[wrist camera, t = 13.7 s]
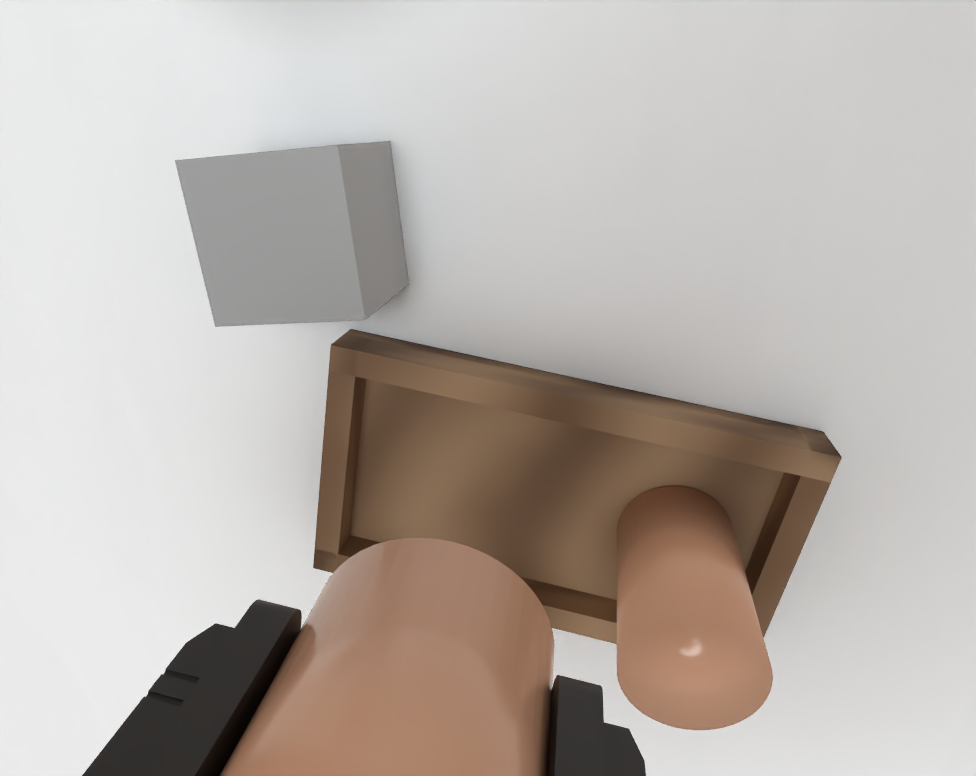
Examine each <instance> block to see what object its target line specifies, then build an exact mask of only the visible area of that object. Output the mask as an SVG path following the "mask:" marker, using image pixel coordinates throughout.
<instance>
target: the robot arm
mask: <svg viewBox="0 0 976 776" xmlns="http://www.w3.org/2000/svg"><path fill="white" fill-rule="evenodd" d="M301 617H302V616H301V611H300V610H299V609H295V608H291V607H287V606H283V605H279V604H275V603H271V602H266V601H262V600H256V601H255V602H254V603H253V604H252V605H251V606H250V607H249V609H248V610H247V612H246V613H245V615H244V616H243V617H242V619H241V620H240V622H239V623H238V624H237V626H236V627H235V628H232V627H228V626H224V625H220V624H214V625H213V626H211V627H210V628H208V629H207V630H205V631H204V632H202V633H200V634H199V635H197V636H196V637H194V638H193V639H191V640H190V641H188V642H187V643H186V644H185V645H184V646H183V648H182V649H181V650H180V651H179V653H178V654H177V655H176V657H175V658H174V659H173V660H172V662H171V663H170V664H169V666H168V667H167V668H166V671H165V673H164V675H162V674H161V676H160V677H159V678H158V680H157V681H156V682H155V683H154V685H153V686H152V687H151V689H150V690H149V692H148V695H147V696H146V697H143V699H142V700H141V701H140V703H139V704H138V705H137V706H136V708H135V709H134V710H133V712H132V713H131V714H130V715H129V717H128V718H127V719H126V720H125V722H124V723H123V724H122V726H121V727H120V728H119V729H118V731H117V732H116V733H115V735H114V736H113V737H112V738H111V740H110V741H109V742H108V743H107V745H106V746H105V747H104V749H103V750H102V751H101V752H100V754H99V755H98V756H97V757H96V759H95V760H94V761H93V763H92V764H91V765H90V766H89V768H88V769H87V770H86V772H85V773H84V774H83V775H82V776H220V774H221V772H222V770H223V769H224V767H225V765H226V763H227V761H228V760H229V758H230V756H231V754H232V752H233V751H234V749H235V747H236V745H237V743H238V742H239V740H240V738H241V736H242V734H243V733H244V731H245V729H246V727H247V725H248V724H249V722H250V720H251V718H252V716H253V715H254V713H255V711H256V709H257V707H258V706H259V704H260V702H261V700H262V698H263V696H264V695H265V693H266V691H267V689H268V687H269V686H270V684H271V682H272V680H273V678H274V677H275V675H276V673H277V671H278V669H279V668H280V666H281V664H282V662H283V660H284V659H285V657H286V655H287V653H288V651H289V650H290V648H291V646H292V644H293V642H294V641H295V639H296V637H297V635H298V633H299V632H300V629H301ZM547 776H646V773H645V762H644V759H643V757H642V755H641V753H640V751H639V749H638V747H637V745H636V743H635V741H634V739H633V736H632V734H631V732H630V730H629V729H628V728H624V727H620V726H616V725H612V724H608V723H604V719H603V692H602V687H601V686H600V685H596V684H592V683H588V682H584V681H580V680H576V679H572V678H568V677H564V676H560V675H557V676H556V678H555V681H554V684H553V687H552V694H551V711H550V728H549V745H548V762H547Z"/></svg>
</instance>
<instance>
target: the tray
mask: <svg viewBox="0 0 976 776" xmlns="http://www.w3.org/2000/svg"><path fill="white" fill-rule="evenodd" d="M841 458H842V457H841V456H840V454H839V453H838V451H837V450H836V449H835V447H834V446H833V444H832V443H831V442H830V440H829V439H828V438H827V436H826V435H825V433H824V432H822V431H817V430H812V429H808V428H803V427H799V426H794V425H789V424H785V423H780V422H776V421H771V420H766V419H762V418H757V417H752V416H748V415H743V414H739V413H734V412H729V411H725V410H720V409H716V408H711V407H706V406H702V405H697V404H693V403H688V402H683V401H679V400H674V399H670V398H665V397H660V396H656V395H651V394H646V393H642V392H637V391H633V390H628V389H623V388H619V387H614V386H610V385H605V384H600V383H596V382H591V381H587V380H582V379H577V378H573V377H568V376H564V375H559V374H554V373H550V372H545V371H540V370H536V369H531V368H527V367H522V366H517V365H513V364H508V363H504V362H499V361H494V360H490V359H485V358H481V357H476V356H471V355H467V354H462V353H458V352H453V351H448V350H444V349H439V348H435V347H430V346H425V345H421V344H416V343H411V342H407V341H402V340H398V339H393V338H388V337H384V336H379V335H375V334H370V333H365V332H361V331H356V330H352V329H350V330H349V331H348V332H346V333H345V334H344V335H343V336H342V337H340V338H339V339H338V340H337V341H335V342H334V343H333V344H332V345H331V350H330V363H329V376H328V388H327V401H326V414H325V426H324V439H323V452H322V464H321V477H320V489H319V502H318V515H317V527H316V540H315V553H314V565H313V568H315V569H319V570H323V571H327V572H331V573H334V572H335V571H336V570H337V568H338V567H339V566H340V565H342V564H343V563H344V562H345V561H346V560H347V559H349V558H350V557H352V556H353V555H355V554H356V553H358V552H360V551H361V550H364V549H366V548H368V547H371V546H373V545H376V544H379V543H383V542H386V541H390V540H396V539H403V538H432V539H440V540H445V541H451V542H455V543H458V544H462V545H465V546H468V547H471V548H474V549H476V550H478V551H481V552H483V553H485V554H487V555H489V556H491V557H492V558H494V559H496V560H498V561H500V562H501V563H502V564H504V565H505V566H507V567H508V568H509V569H511V570H512V571H513V572H515V573H516V574H517V575H518V576H519V577H520V578H521V579H522V580H523V581H524V582H525V583H526V584H527V585H528V586H529V587H530V588H531V590H532V591H533V592H534V593H535V595H536V596H537V598H538V599H539V601H540V602H541V604H542V605H543V607H544V609H545V612H546V614H547V616H548V618H549V621H550V625H551V628H555V629H559V630H563V631H567V632H571V633H575V634H579V635H583V636H587V637H591V638H595V639H599V640H603V641H607V642H611V643H615V644H617V525H618V521H619V518H620V516H621V514H622V512H623V511H624V509H625V508H626V507H627V506H628V504H629V503H630V502H631V501H633V500H634V499H635V498H637V497H638V496H640V495H641V494H643V493H645V492H648V491H650V490H653V489H657V488H661V487H670V486H679V487H687V488H691V489H695V490H698V491H701V492H703V493H705V494H707V495H709V496H710V497H712V498H713V499H715V500H716V501H717V502H718V503H719V504H720V505H721V506H722V507H723V508H724V509H725V511H726V512H727V514H728V515H729V518H730V520H731V523H732V526H733V530H734V533H735V537H736V541H737V544H738V548H739V552H740V555H741V559H742V563H743V566H744V570H745V573H746V577H747V581H748V584H749V588H750V592H751V595H752V599H753V603H754V606H755V610H756V613H757V617H758V621H759V624H760V628H761V632H762V635H763V638H764V635H765V633H766V631H767V628H768V626H769V624H770V622H771V619H772V617H773V615H774V612H775V610H776V608H777V605H778V603H779V601H780V598H781V596H782V594H783V592H784V589H785V587H786V585H787V582H788V580H789V578H790V575H791V573H792V571H793V568H794V566H795V564H796V562H797V559H798V557H799V555H800V552H801V550H802V548H803V545H804V543H805V541H806V538H807V536H808V534H809V532H810V529H811V527H812V525H813V522H814V520H815V518H816V515H817V513H818V511H819V509H820V506H821V504H822V502H823V499H824V497H825V495H826V492H827V490H828V488H829V485H830V483H831V481H832V479H833V476H834V474H835V472H836V469H837V467H838V465H839V462H840V460H841Z"/></svg>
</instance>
